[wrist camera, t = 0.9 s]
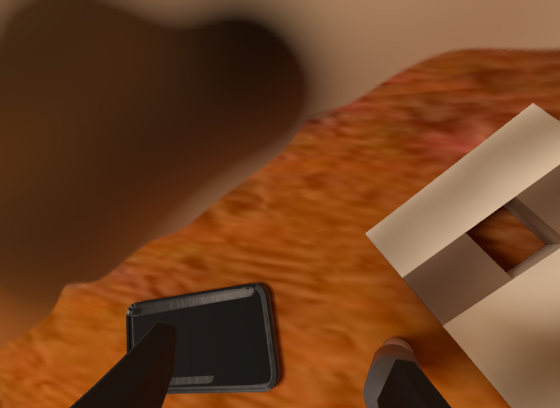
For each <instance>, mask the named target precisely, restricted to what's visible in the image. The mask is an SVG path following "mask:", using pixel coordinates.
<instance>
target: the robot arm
mask: <svg viewBox="0 0 560 408" xmlns="http://www.w3.org/2000/svg"><path fill="white" fill-rule="evenodd" d="M175 343H176V325H169V324H163V323H156V324H154V325H153V326H152V327H151V328H150V329H149V331H148V332H147V333H146V334H145V335H144V336H143V337H142V338H141V339H140V340H139V341H138V342H137V343H136V344H135V346H134V347H133V348H132V349H131V350H130V351H129V352H128V353H127V354H126V355H125V356H124V357H123V358H122V359H121V360H120V361H119V362H118V363H117V364H116V365H115V366H114V367H113V368H112V369H111V370H110V371H109V372H107V373H106V374H105V375H104V376H103V377H102V378H101V379H100V380H99V381H98V382H97V383H96V384H95V385H94V386H93V387H92V388H91V389H90V390H89V391H88V392H86V393H85V394H84V395H83V396H82V397H81V398H80V399H79V400H77V401H76V402H75V403H74V404H73V405H72V406H71V407H70V408H161V407H162V405H163V402H164V399H165V396H166V393H167V390H168V387H169V384H170V381H171V378H172V375H173V372H174V363H175ZM377 402H378V408H451V407H450V405H449V404H448V403H447V402H446V400H445V399H444V398H443V397H442V396H441V394H440V393H439V392H438V391H437V389H436V388H435V387H434V386H433V384H432V383H431V382H430V381H429V379H428V378H427V377H426V376H425V374H424V373H423V372H422V371H421V369H420V368H419V367H418V366H417V365H416V363H415V362H413V361H407V360H400V359H396V360H395V362H394V364H393V366H392V369H391V371H390V373H389V375H388V377H387V380H386V382H385V384H384V386H383V388H382V391H381V393H380V395H379V397H378V399H377Z"/></svg>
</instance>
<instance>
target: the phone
mask: <svg viewBox="0 0 560 408" xmlns="http://www.w3.org/2000/svg"><path fill="white" fill-rule="evenodd" d="M156 323H163V324H169V325H176V343H175V363H174V372H173V375H172V378H171V381H170V384H169V387H168V390H167V393H166V394H181V393H235V392H267V391H269V390H271V389H272V388H273V387H274V386H275V385H276V384H277V383H278V381H279V379H280V364H279V357H278V350H277V343H276V335H275V328H274V321H273V314H272V306H271V299H270V294H269V291H268V289H267V288H266V287H265V286H264V285H263V284H260V283H252V284H246V285H240V286H234V287H228V288H222V289H215V290H209V291H203V292H197V293H191V294H185V295H179V296H173V297H167V298H161V299H155V300H149V301H143V302H137V303H133V304H132V305H130V307H129V308H128V310H127V315H126V330H127V353H128V352H129V351H130V350H131V349H132V348H133V347H134V346H135V344H136V343H137V342H138V341H139V340H140V339H141V338H142V337H143V336H144V335H145V334H146V333H147V332H148V331H149V329H150V328H151V327H152V326H153V325H154V324H156ZM272 330H273V332H272ZM273 337H274V339H273ZM277 362H278V363H277Z"/></svg>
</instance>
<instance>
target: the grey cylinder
mask: <svg viewBox="0 0 560 408" xmlns="http://www.w3.org/2000/svg"><path fill="white" fill-rule="evenodd" d="M396 359H400V360H407V361H413V362H415V363H416V365H417V366H418V367H419V368H420V369H421V366H420V363H419V361H418V359H417V358H416V356H415V355H414V352H413V349H412V348H411V346H410V345H409V344H408V343H407V342H406V341H405V340H403V339H401V338H397V337H393V338H389V339H387V340H386V341H385V342H384V343H383V345H382V347H380V348H379V349H378V350H377V351H376V353H375V355H374V357H373V360H372V363H371V366H370V369H369V372H368V375H367V379H366V382H365V385H364V400H365V403H366V406H367V408H378V402H377V399H378V397H379V395H380V393H381V391H382V388H383V386H384V384H385V382H386V380H387V377H388V375H389V373H390V371H391V369H392V366H393V364H394V362H395V360H396ZM421 371H422V369H421Z"/></svg>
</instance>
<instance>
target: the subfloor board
mask: <svg viewBox="0 0 560 408" xmlns="http://www.w3.org/2000/svg"><path fill="white" fill-rule="evenodd" d="M501 206H503V207H504V208H506V209H507V210H508V211H509V212H510V213H511V214H512V215H513V216H515V217H516V218H517V219H518V220H519V221H520V222H521V223H522V224H524V225H525V226H526V227H527V228H528V229H529V230H530V231H531V232H533V233H534V234H535V235H536V236H537V237H538V238H539V239H540V240H542V241H543V242H544V243H545V244H546V246H545V247H543V248H542V249H540V250H539V251H537V252H536V253H534V254H533V255H531V256H530V257H529V258H527V259H526V260H524V261H523V262H521V263H520V264H518V265H517V266H515V267H514V268H512V269H511V270H509V271H508V272H505V271H504V270H503V269H502V268H501V267H500V266H499V265H498V264H497V263H496V262H495V261H494V260H493V259H492V258H491V257H490V256H489V255H488V254H487V253H486V252H485V251H484V250H482V249H481V248H480V247H479V246H478V245H477V244H476V243H475V242H474V241H473V240H472V239H471V238H470V237H469V236H468V235H467V234H466V233H465V232H467V231H468V230H469V229H471V228H472V227H474V226H475V225H476V224H478V223H479V222H480V221H482V220H483V219H485V218H486V217H487V216H489V215H490V214H492V213H493V212H494V211H496V210H497V209H499V208H500V207H501ZM366 235H367V236H368V237H369V239H370V240H371V241H372V242H373V243H374V245H375V246H376V247H377V248H378V249H379V251H380V252H381V253H382V254H383V255H384V257H385V258H386V259H387V260H388V261H389V263H390V264H391V265H392V266H393V267H394V268H395V270H396V271H397V272H398V273H399V274H400V276H401V277H402V278H403V279H404V280H405V282H406V283H407V284H408V285H409V286H410V288H411V289H412V290H413V291H414V292H415V293H416V295H417V296H418V297H419V298H420V299H421V301H422V302H423V303H424V304H425V305H426V307H427V308H428V309H429V310H430V311H431V313H432V314H433V315H434V316H435V317H436V318H437V320H438V321H439V322H440V323H441V324H442V326H443V327H444V328H445V329H446V330H447V332H448V333H449V334H450V335H451V336H452V338H453V339H454V340H455V341H456V342H457V343H458V345H459V346H460V347H461V348H462V349H463V351H464V352H465V353H466V354H467V355H468V357H469V358H470V359H471V360H472V361H473V363H474V364H475V365H476V366H477V367H478V368H479V370H480V371H481V372H482V373H483V374H484V376H485V377H486V378H487V379H488V380H489V382H490V383H491V384H492V385H493V386H494V388H495V389H496V390H497V391H498V392H499V393H500V395H501V396H502V397H503V398H504V399H505V401H506V402H507V403H508V404H509V405H510V407H511V408H560V121H558V120H557V119H555V118H554V117H552V116H551V115H549V114H548V113H546V112H545V111H544V110H542V109H541V108H539V107H538V106H536V105H535V104H531V105H530V106H529V107H527V108H526V109H525V110H524V111H522V112H521V113H520V114H518V115H517V116H516V117H515V118H513V119H512V120H511V121H509V122H508V123H507V124H506V125H504V126H503V127H502V128H500V129H499V130H498V131H497V132H495V133H494V134H493V135H491V136H490V137H489V138H488V139H486V140H485V141H484V142H482V143H481V144H480V145H479V146H477V147H476V148H475V149H473V150H472V151H471V152H470V153H468V154H467V155H466V156H464V157H463V158H462V159H461V160H459V161H458V162H457V163H455V164H454V165H453V166H452V167H450V168H449V169H448V170H446V171H445V172H444V173H443V174H441V175H440V176H439V177H438V178H436V179H435V180H434V181H432V182H431V183H430V184H429V185H427V186H426V187H425V188H423V189H422V190H421V191H420V192H418V193H417V194H416V195H414V196H413V197H412V198H411V199H409V200H408V201H407V202H405V203H404V204H403V205H402V206H400V207H399V208H398V209H396V210H395V211H394V212H393V213H391V214H390V215H389V216H387V217H386V218H385V219H384V220H382V221H381V222H380V223H378V224H377V225H376V226H375V227H373V228H372V229H371V230H369V231H368V232H367V233H366Z"/></svg>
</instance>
